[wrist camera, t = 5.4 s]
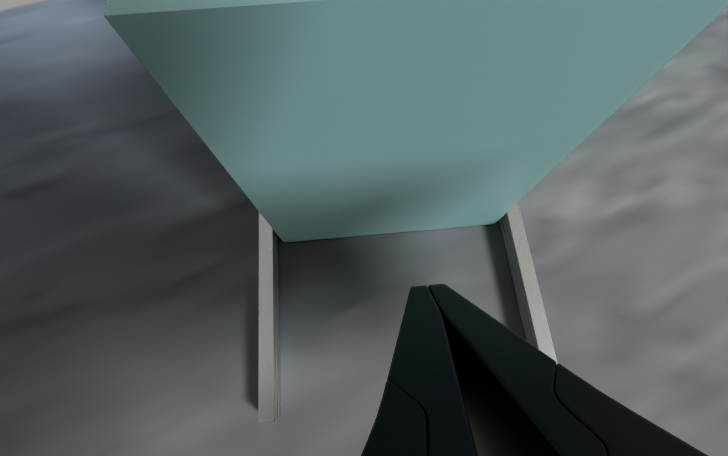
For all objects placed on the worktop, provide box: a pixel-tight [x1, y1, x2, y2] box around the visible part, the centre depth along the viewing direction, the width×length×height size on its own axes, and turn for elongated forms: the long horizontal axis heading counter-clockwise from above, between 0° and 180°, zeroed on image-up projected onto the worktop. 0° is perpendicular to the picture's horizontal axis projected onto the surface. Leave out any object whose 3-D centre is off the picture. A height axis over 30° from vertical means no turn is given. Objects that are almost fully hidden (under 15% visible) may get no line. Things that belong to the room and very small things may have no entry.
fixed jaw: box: [258, 203, 558, 423], centre depth 12 cm, size 20×12×12 cm, turn 5°
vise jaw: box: [104, 0, 728, 242], centre depth 11 cm, size 3×10×12 cm, turn 95°
